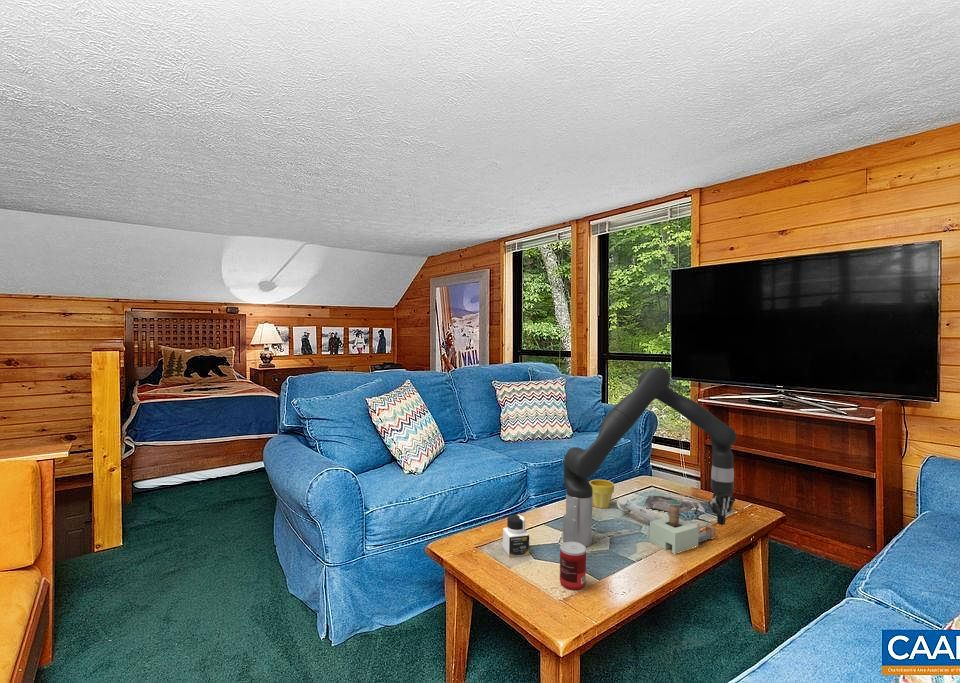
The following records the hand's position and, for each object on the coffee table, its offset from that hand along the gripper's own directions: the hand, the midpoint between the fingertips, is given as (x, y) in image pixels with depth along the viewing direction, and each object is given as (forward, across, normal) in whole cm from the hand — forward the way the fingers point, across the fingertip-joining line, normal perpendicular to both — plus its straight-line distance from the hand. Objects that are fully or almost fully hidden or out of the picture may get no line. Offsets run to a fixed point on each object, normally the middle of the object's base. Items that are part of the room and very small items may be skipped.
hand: (721, 524), depth 180 cm
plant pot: (+4, +19, -43) cm, 47 cm away
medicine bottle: (+4, +75, -24) cm, 79 cm away
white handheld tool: (+2, +16, -21) cm, 26 cm away
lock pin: (+4, +12, 0) cm, 12 cm away
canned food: (+4, +71, +1) cm, 71 cm away
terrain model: (+5, -6, -28) cm, 29 cm away
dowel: (+1, +22, -3) cm, 22 cm away
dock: (+4, +22, -3) cm, 23 cm away
